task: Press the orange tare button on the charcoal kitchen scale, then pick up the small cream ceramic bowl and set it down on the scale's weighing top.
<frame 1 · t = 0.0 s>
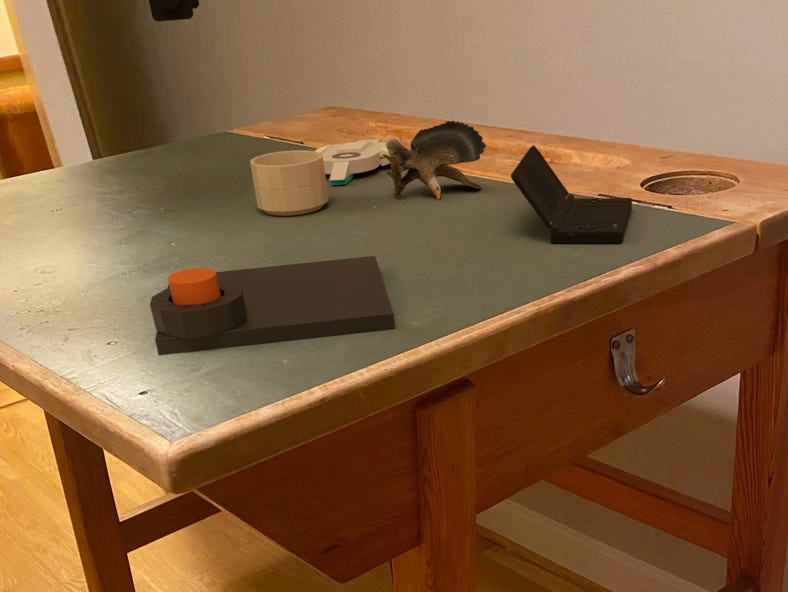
hand: (177, 14, 85), 17 cm above the table, tool pointing down, fingers open, 9 cm apart
handheld gaming console: (574, 228, 89), on the table
tare button: (194, 288, 68), point 3 cm above the table, slide at 0.1 cm
scale: (277, 310, 75), on the table
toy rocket: (354, 170, 111), on the table
triceratops head: (436, 196, 100), on the table
bowl: (294, 208, 99), on the table
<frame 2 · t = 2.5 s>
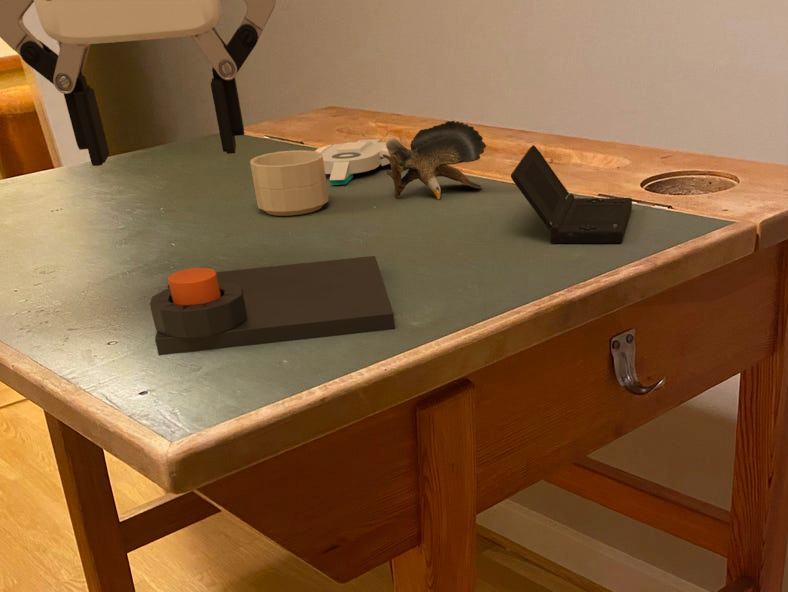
hand: (165, 153, 63), 12 cm above the table, tool pointing down, fingers open, 7 cm apart
nothing on the table moved.
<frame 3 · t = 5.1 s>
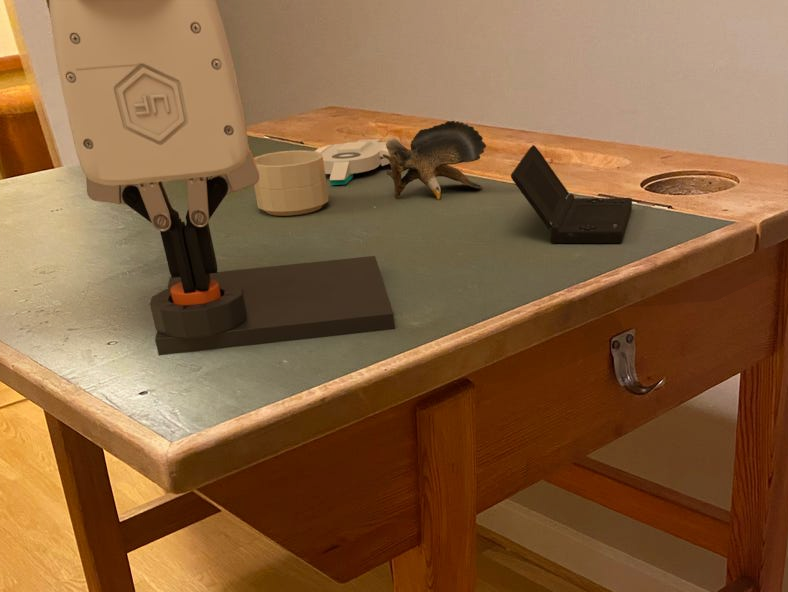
hand: (197, 285, 68), 4 cm above the table, tool pointing down, fingers closed
tare button: (197, 298, 69), point 3 cm above the table, slide at -0.6 cm, touching gripper
everything else where it was.
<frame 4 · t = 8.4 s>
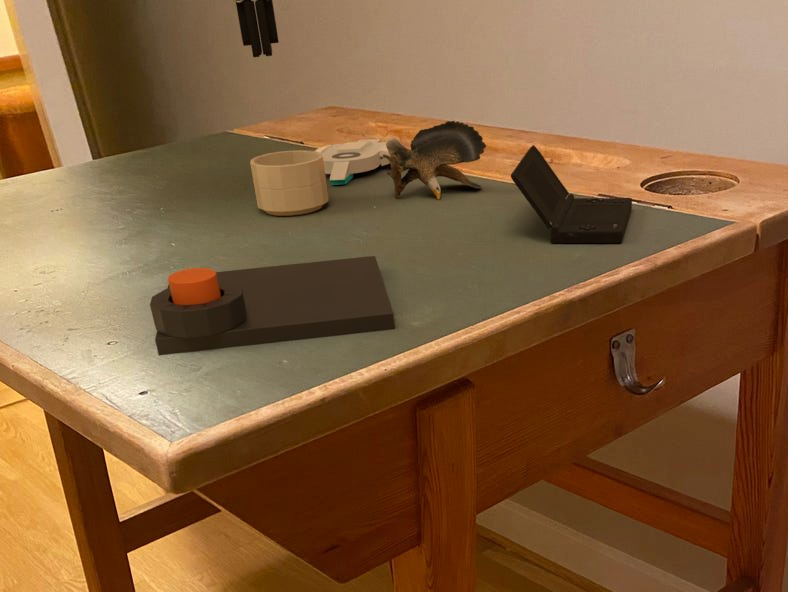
hand: (262, 54, 87), 14 cm above the table, tool pointing down, fingers closed
tare button: (194, 288, 68), point 3 cm above the table, slide at 0.1 cm
everything else where it was.
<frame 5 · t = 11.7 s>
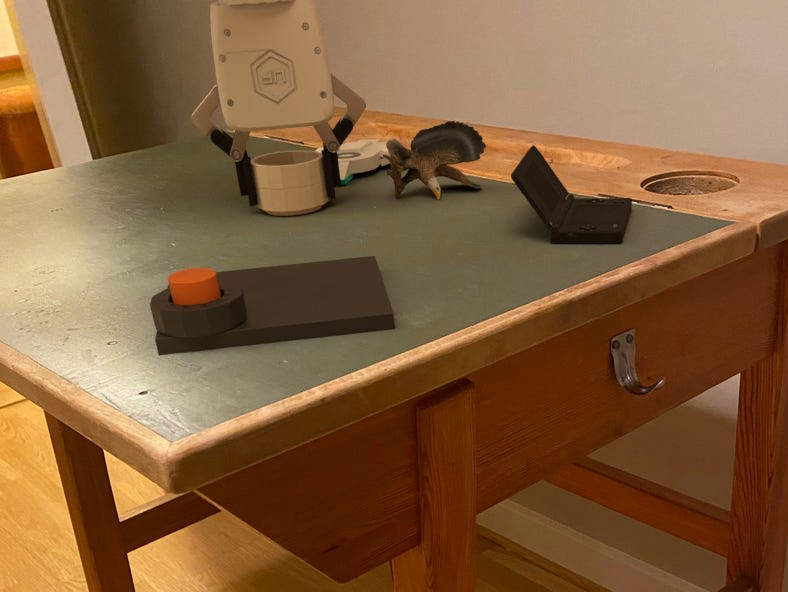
hand: (292, 197, 98), 1 cm above the table, tool pointing down, fingers closed on bowl, 6 cm apart
bowl: (294, 208, 99), on the table, touching gripper
everything else where it was.
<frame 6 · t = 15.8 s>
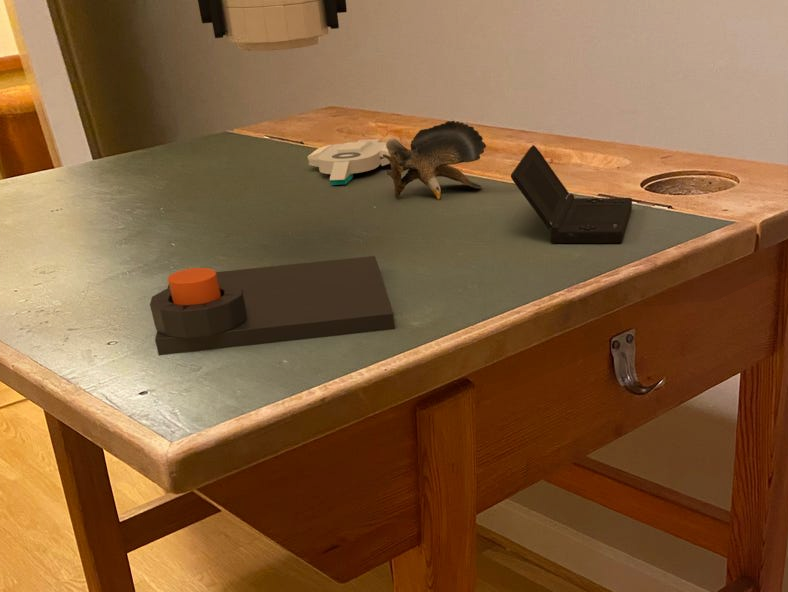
hand: (276, 28, 68), 17 cm above the table, tool pointing down, fingers closed on bowl, 6 cm apart
bowl: (279, 45, 69), point 16 cm above the table, touching gripper
everything else where it was.
when the fingers open (2 cm above the table, at t = 20.0 s): bowl stays where it is, resting on scale.
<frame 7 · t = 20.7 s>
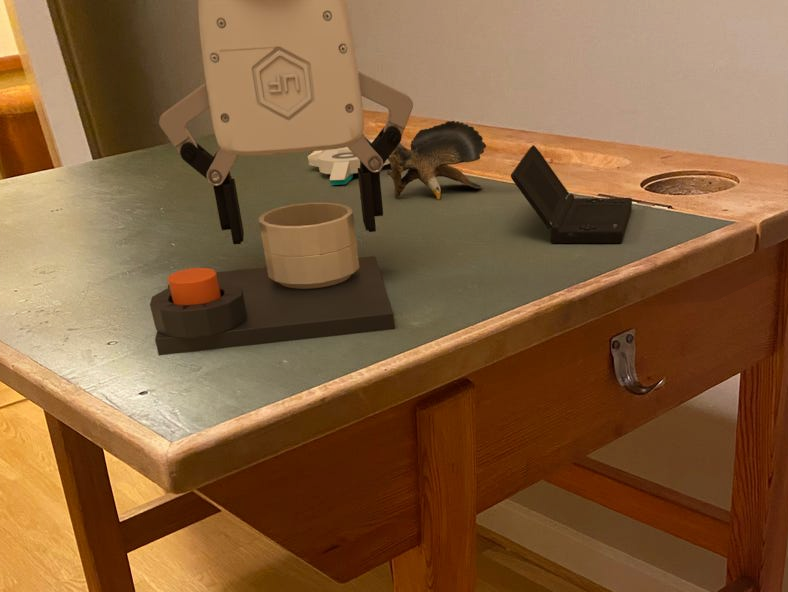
hand: (304, 233, 75), 4 cm above the table, tool pointing down, fingers open, 9 cm apart
bowl: (314, 277, 77), point 1 cm above the table, touching scale
everything else where it was.
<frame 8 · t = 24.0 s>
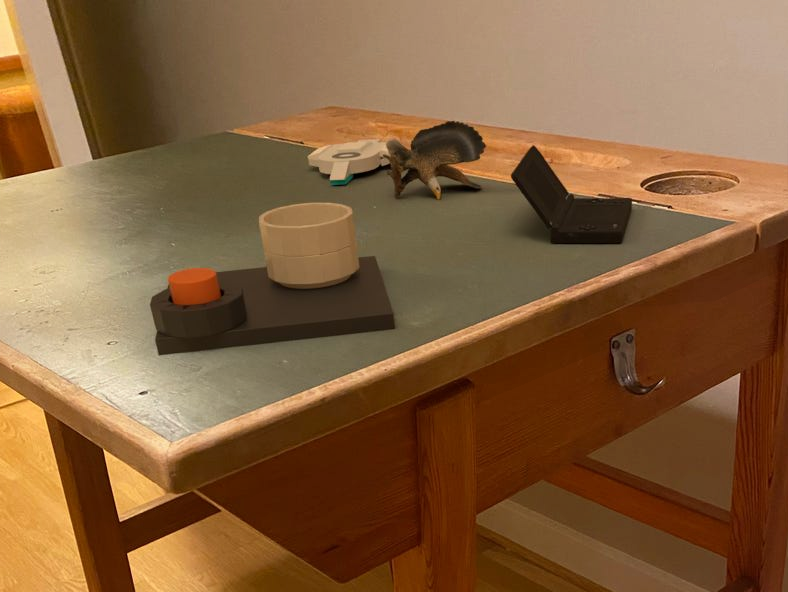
nothing on the table moved.
at the end: tare button pushed in 1.1 cm at the most during the clip, back to where it started at the end; bowl inside the target area on the scale (0.1 cm from its centre), point 1.2 cm above the scale's base; bowl touching scale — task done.
